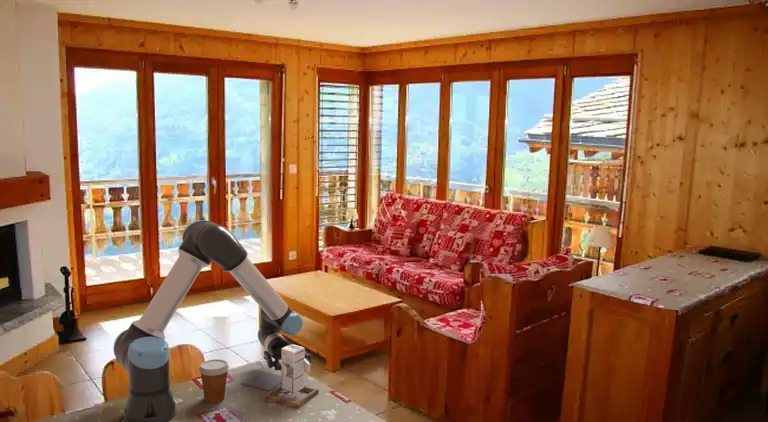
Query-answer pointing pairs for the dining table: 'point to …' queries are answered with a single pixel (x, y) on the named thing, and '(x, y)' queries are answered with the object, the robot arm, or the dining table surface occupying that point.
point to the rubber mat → (263, 381)
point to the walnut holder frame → (273, 399)
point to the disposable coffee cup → (214, 379)
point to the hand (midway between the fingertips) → (297, 369)
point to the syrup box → (293, 368)
